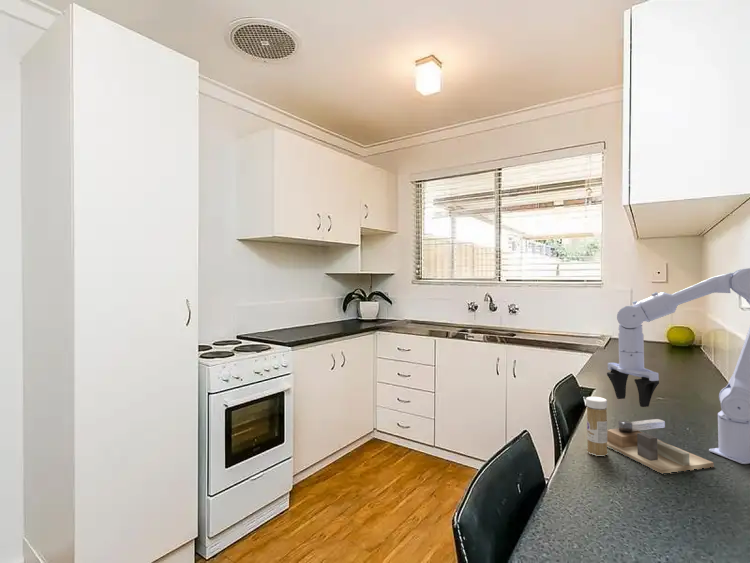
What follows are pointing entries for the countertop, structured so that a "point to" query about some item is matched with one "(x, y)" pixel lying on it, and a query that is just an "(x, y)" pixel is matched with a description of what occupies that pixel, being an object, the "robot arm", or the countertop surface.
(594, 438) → the sprinkles bottle
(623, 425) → the bar
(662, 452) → the wooden base plank
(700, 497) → the countertop surface
